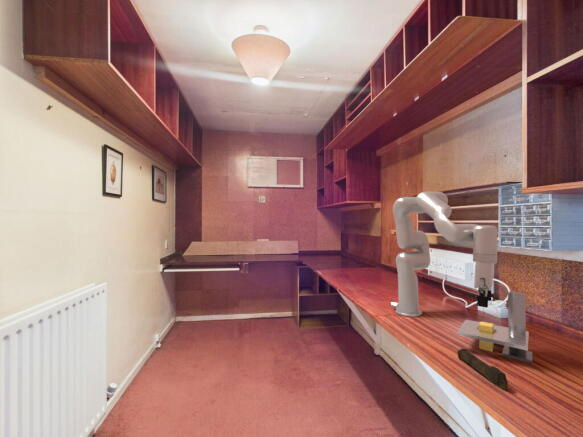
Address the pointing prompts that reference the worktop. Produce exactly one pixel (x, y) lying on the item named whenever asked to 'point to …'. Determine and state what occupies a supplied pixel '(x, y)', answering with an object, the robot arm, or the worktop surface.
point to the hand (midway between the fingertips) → (484, 303)
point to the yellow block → (487, 329)
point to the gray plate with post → (506, 330)
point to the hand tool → (484, 369)
